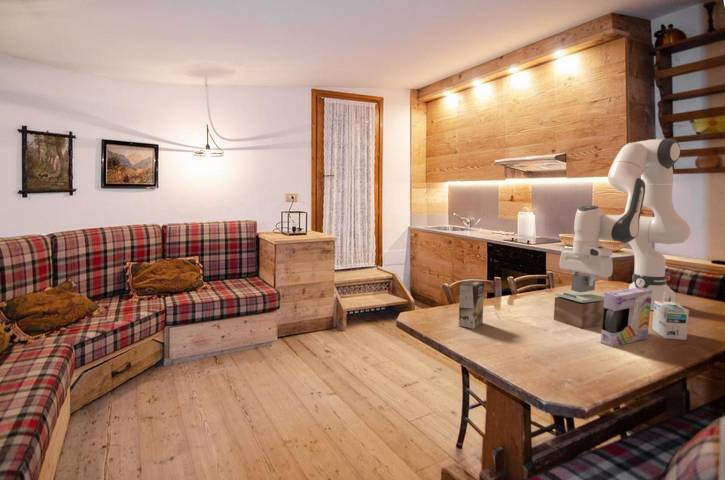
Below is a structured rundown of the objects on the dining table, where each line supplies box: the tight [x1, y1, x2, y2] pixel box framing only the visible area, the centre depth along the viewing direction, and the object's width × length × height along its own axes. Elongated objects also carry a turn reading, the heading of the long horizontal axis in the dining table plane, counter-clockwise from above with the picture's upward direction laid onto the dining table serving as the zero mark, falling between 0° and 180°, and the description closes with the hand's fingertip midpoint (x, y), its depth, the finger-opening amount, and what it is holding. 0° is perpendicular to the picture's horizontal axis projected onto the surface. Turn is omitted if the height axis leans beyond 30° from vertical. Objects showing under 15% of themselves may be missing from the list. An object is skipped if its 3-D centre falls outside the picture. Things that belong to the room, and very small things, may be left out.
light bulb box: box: [651, 301, 690, 341], centre depth 152 cm, size 11×7×11 cm, turn 168°
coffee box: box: [458, 280, 485, 330], centre depth 162 cm, size 9×6×16 cm
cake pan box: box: [600, 287, 652, 348], centre depth 144 cm, size 19×5×18 cm, turn 114°
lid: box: [554, 290, 604, 303], centre depth 166 cm, size 16×12×2 cm
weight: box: [570, 273, 596, 292], centre depth 166 cm, size 8×4×6 cm, turn 116°
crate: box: [553, 296, 604, 329], centre depth 167 cm, size 16×12×9 cm
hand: (583, 284), depth 166 cm, fingers closed on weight, 4 cm apart
